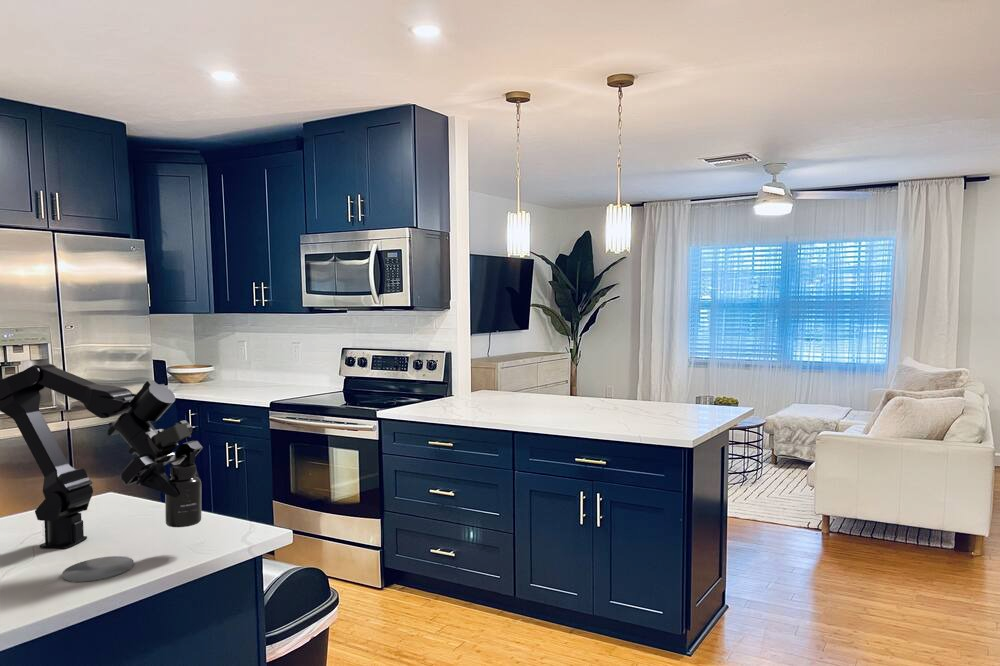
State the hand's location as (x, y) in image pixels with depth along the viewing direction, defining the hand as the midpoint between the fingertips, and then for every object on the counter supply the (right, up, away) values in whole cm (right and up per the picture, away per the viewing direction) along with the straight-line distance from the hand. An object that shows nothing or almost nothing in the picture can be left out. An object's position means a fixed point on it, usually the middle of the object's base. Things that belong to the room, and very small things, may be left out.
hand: (189, 491), depth 143 cm
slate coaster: (-14, -13, -9) cm, 21 cm away
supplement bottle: (-1, -7, +1) cm, 7 cm away
